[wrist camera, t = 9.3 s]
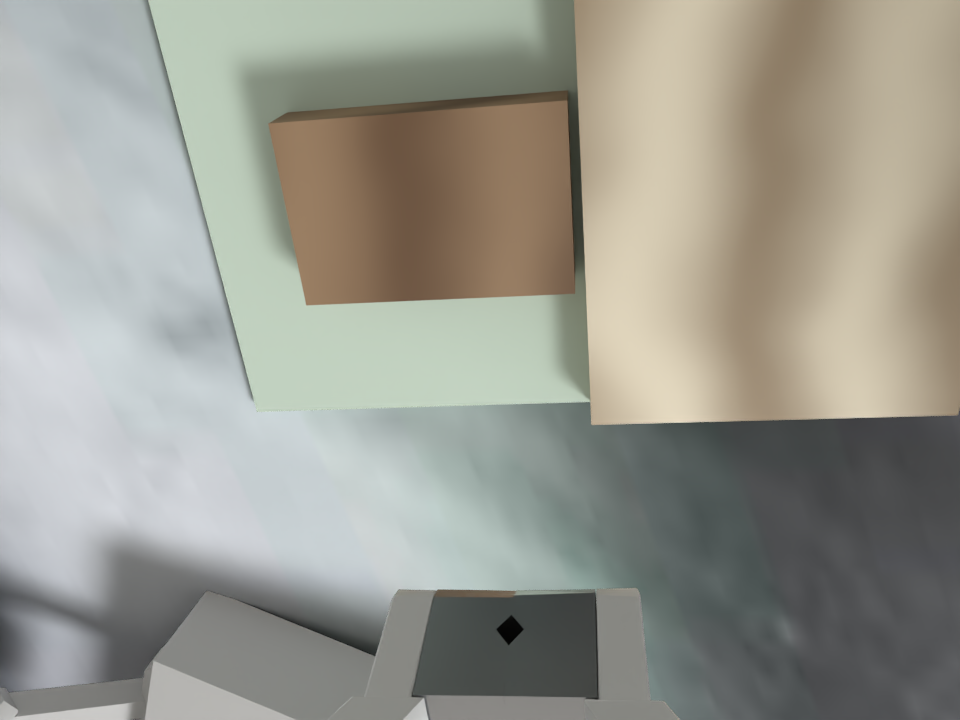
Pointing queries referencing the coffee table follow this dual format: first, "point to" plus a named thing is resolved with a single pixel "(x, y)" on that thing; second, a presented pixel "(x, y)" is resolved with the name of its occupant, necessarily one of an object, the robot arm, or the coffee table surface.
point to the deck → (770, 208)
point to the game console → (217, 674)
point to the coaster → (430, 199)
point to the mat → (263, 217)
